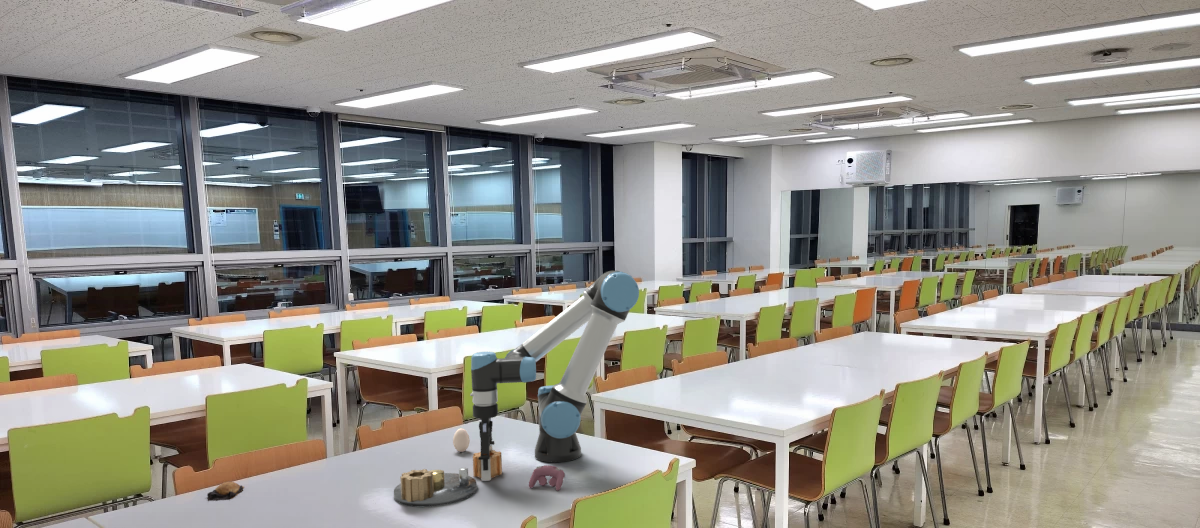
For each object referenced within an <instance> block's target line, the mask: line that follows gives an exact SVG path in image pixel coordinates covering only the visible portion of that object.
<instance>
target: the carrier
mask: <svg viewBox="0 0 1200 528" xmlns="http://www.w3.org/2000/svg"><path fill="white" fill-rule="evenodd" d="M399 480H400V482H399V484H397V485H396V486H395V487H394V489H393V499H394V501H396V503H399V504H401V505H404V506H410V507H420V508H421V507H422V508H427V507H428V508H429V507H437V506H445V505H450V504H453V503H457V502H460V501H463V500H466V499H467V498H469V497H471V496H472V495H474V494H475V493H476V492H477V489H478V488H477V487H478V486H477V480H476V479H475V478H474V477H472V476H470V475H469V468H467V467H461V468H459V469H458V473H455V472H454V473H453V472H445V470H443V469H431V470H428V469H425V468H424V469H417V470H416V469H411V470H410V471H407V472H402V473H401V476H400V479H399Z"/></svg>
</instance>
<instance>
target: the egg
mask: <svg viewBox="0 0 1200 528" xmlns="http://www.w3.org/2000/svg"><path fill="white" fill-rule="evenodd" d="M470 441H471V439H470V436H469V433H468V431H467V430H466V429H464V428H458V429H457V430H456V431H455V432H454V434H453V438H452V443H453V447H454V449H455V450H456V451H457V452H460V453H464V452H465V451H467V450H468V449H469V446H470V443H471V442H470Z"/></svg>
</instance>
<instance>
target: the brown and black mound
mask: <svg viewBox="0 0 1200 528" xmlns="http://www.w3.org/2000/svg"><path fill="white" fill-rule="evenodd" d="M244 489H245V486H244V485H240V484H239V483H236V482H234V481H225V482H223V483H221V484H219V485H218V486H216V488H215V489H213V490H212V491H210V492H208V493H207V495H206V496H207V501H208V502H211V501H227V500H233V499H234V498H236V497H237V496H238V495H240V493H241V492H243V490H244Z"/></svg>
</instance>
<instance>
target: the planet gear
mask: <svg viewBox="0 0 1200 528" xmlns="http://www.w3.org/2000/svg"><path fill="white" fill-rule="evenodd" d="M483 455H487V454H483ZM480 456H481V451H479V452H474V453H473V454H472V471H473V472H472V475H473V478H474V477H475V478H476V477H477V478H479V479H482V478H481V460H479V459H478V457H480ZM502 458H503V457H502V451H496V449H492V450H491V451H490V466H491V479H493V478H495V477H497V476H501V475H503V463H502Z"/></svg>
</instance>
